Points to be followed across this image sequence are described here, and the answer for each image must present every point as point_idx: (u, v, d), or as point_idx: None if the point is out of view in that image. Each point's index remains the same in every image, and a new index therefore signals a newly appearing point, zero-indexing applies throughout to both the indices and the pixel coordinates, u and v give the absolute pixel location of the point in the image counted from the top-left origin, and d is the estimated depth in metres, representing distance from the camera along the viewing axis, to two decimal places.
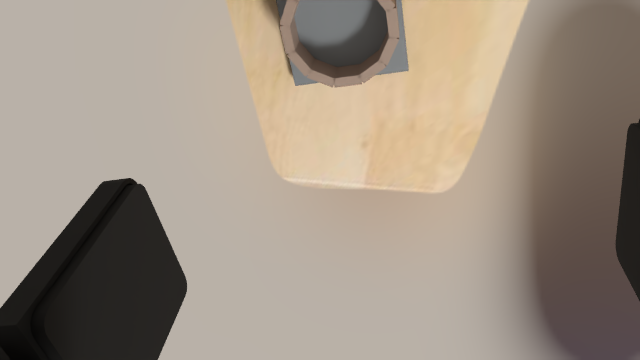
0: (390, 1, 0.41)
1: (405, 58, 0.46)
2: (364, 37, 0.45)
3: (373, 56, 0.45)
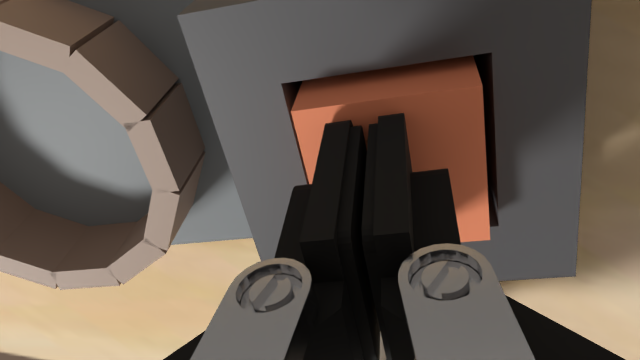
0: (130, 276, 0.18)
1: None
2: (49, 181, 0.19)
3: (11, 207, 0.19)
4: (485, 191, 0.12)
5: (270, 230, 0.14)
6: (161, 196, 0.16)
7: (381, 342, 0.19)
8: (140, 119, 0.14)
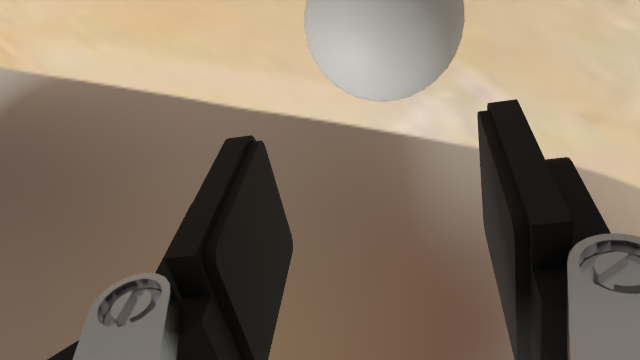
0: None
1: None
2: None
3: None
4: None
5: None
6: None
7: None
8: None
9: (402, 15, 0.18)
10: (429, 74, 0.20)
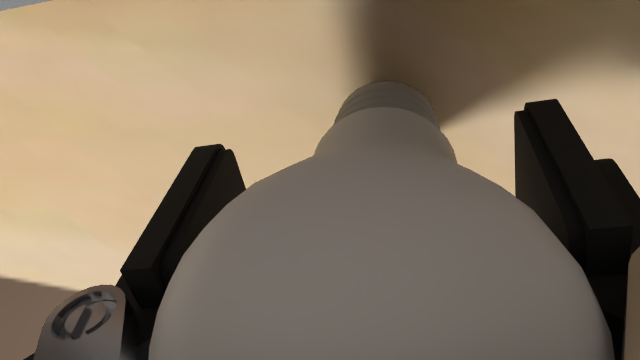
0: None
1: None
2: None
3: None
4: None
5: None
6: None
7: (323, 138, 0.11)
8: None
9: None
10: None
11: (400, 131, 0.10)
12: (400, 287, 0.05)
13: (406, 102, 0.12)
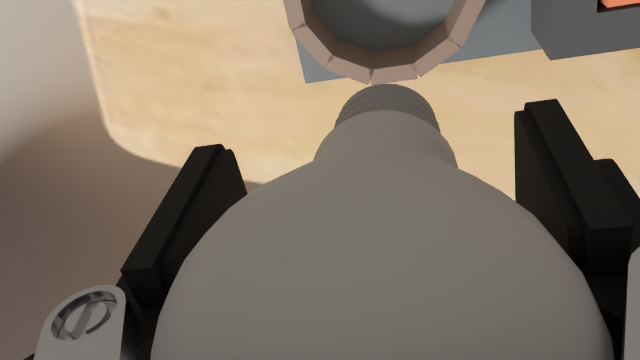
0: (428, 69, 0.26)
1: (324, 78, 0.30)
2: (356, 14, 0.28)
3: (328, 33, 0.28)
4: None
5: (564, 7, 0.23)
6: (473, 1, 0.24)
7: (324, 141, 0.11)
8: None
9: None
10: None
11: (401, 135, 0.10)
12: (401, 294, 0.05)
13: (407, 105, 0.12)
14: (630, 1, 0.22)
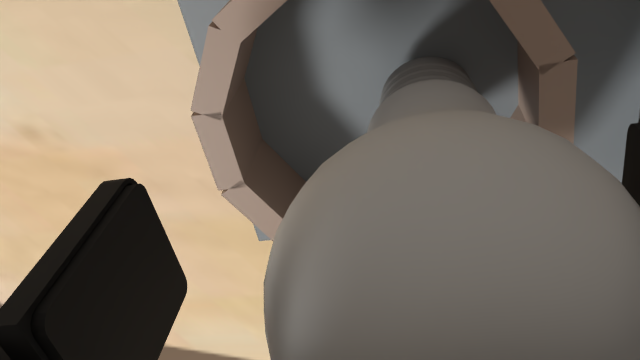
0: None
1: None
2: (336, 148, 0.17)
3: (290, 179, 0.17)
4: None
5: None
6: None
7: (379, 109, 0.12)
8: (565, 58, 0.12)
9: None
10: None
11: (456, 99, 0.11)
12: (507, 216, 0.06)
13: (451, 75, 0.13)
14: None
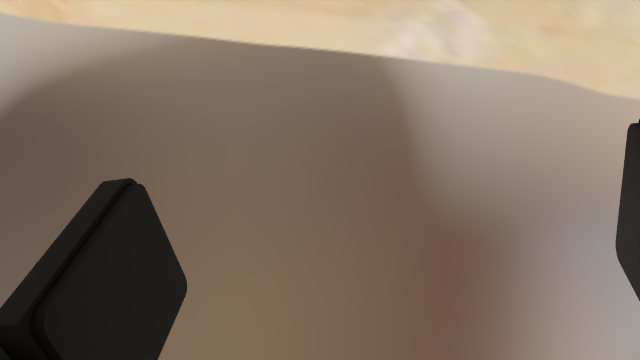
0: None
1: None
2: None
3: None
4: None
5: None
6: None
7: None
8: None
9: None
10: None
11: None
12: None
13: None
14: None
